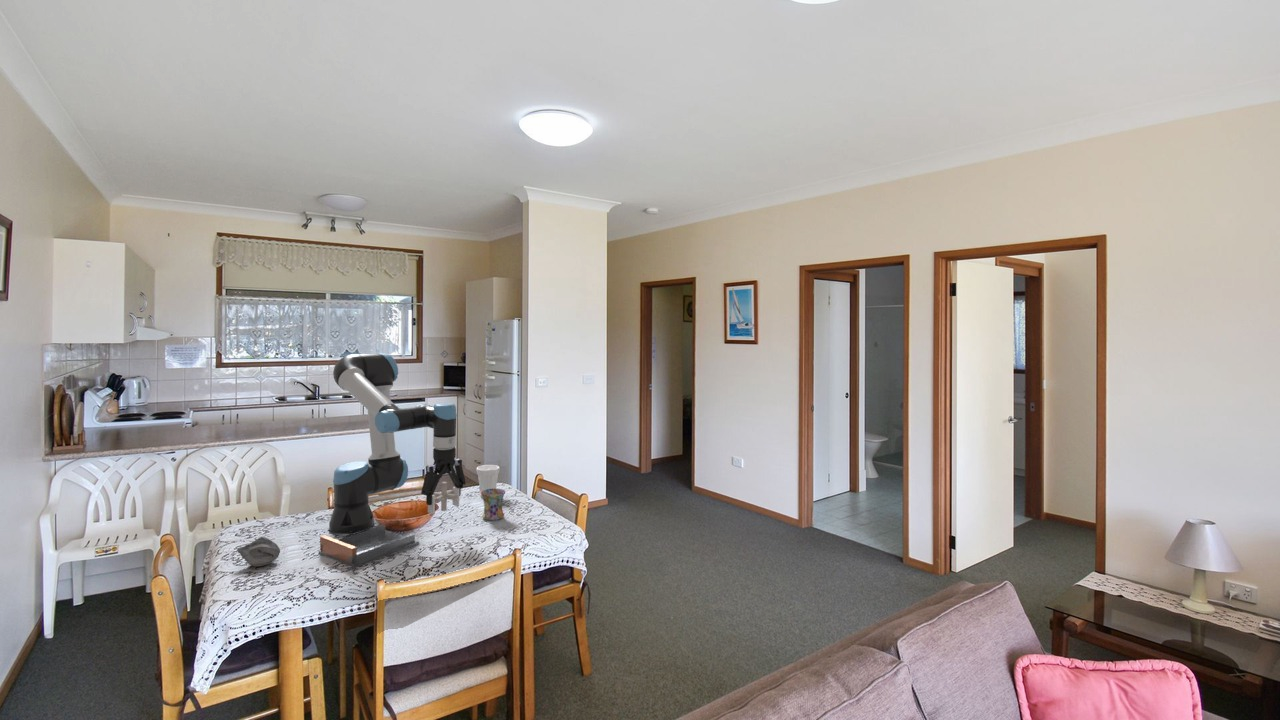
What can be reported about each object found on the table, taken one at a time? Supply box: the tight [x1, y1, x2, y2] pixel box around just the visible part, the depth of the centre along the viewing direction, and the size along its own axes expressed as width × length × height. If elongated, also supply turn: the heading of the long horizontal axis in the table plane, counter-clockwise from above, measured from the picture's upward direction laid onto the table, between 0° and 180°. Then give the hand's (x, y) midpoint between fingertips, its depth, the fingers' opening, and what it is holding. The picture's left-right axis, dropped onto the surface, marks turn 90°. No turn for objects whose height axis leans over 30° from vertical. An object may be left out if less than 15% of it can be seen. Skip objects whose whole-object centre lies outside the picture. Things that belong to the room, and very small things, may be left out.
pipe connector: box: [433, 481, 458, 512], centre depth 207 cm, size 10×10×10 cm
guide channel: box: [318, 523, 420, 569], centre depth 200 cm, size 24×20×6 cm
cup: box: [476, 464, 501, 498], centre depth 260 cm, size 10×10×13 cm
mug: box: [480, 487, 506, 521], centre depth 233 cm, size 12×9×11 cm
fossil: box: [237, 536, 281, 567], centre depth 186 cm, size 11×9×8 cm
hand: (443, 509), depth 208 cm, fingers closed on pipe connector, 10 cm apart
